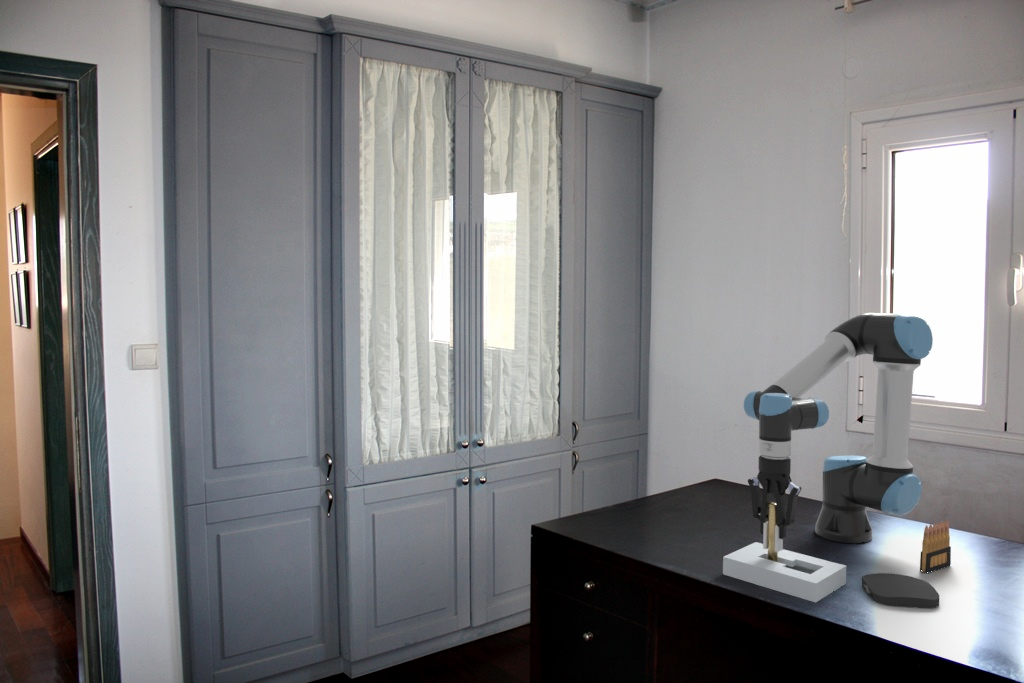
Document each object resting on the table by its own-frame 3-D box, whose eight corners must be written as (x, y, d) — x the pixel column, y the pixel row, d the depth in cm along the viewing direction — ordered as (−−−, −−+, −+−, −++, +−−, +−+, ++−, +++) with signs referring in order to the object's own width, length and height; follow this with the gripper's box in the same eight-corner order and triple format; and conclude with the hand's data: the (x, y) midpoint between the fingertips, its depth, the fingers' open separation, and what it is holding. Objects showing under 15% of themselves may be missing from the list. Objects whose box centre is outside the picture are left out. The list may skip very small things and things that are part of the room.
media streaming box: (944, 611, 171) (945, 598, 171) (875, 606, 173) (875, 593, 173) (921, 586, 185) (922, 573, 185) (857, 582, 188) (857, 570, 187)
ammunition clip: (926, 573, 192) (928, 527, 191) (919, 571, 194) (920, 525, 193) (950, 565, 197) (952, 520, 197) (943, 563, 199) (945, 518, 198)
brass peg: (778, 570, 193) (780, 501, 192) (785, 578, 189) (786, 506, 187) (759, 570, 194) (761, 501, 192) (765, 578, 189) (766, 506, 187)
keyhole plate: (845, 583, 186) (846, 565, 185) (815, 602, 175) (816, 583, 174) (755, 558, 203) (755, 542, 203) (722, 574, 192) (723, 556, 192)
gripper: (738, 453, 192) (737, 545, 194) (797, 463, 181) (795, 560, 182) (753, 449, 197) (752, 538, 199) (811, 458, 186) (809, 553, 188)
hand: (772, 548), depth 191 cm, fingers closed on brass peg, 2 cm apart
